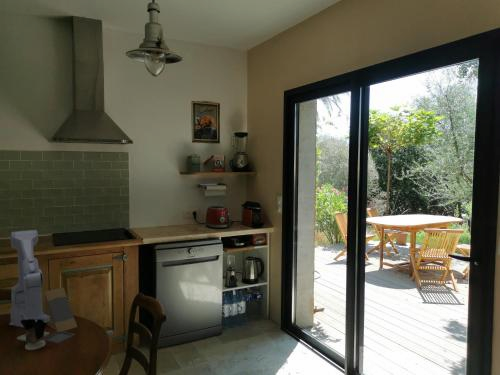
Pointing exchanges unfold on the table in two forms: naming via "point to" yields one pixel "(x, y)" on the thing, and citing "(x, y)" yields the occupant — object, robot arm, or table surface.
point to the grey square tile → (58, 337)
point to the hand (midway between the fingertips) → (35, 337)
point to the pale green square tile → (25, 336)
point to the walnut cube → (32, 336)
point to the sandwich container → (59, 310)
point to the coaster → (35, 345)
